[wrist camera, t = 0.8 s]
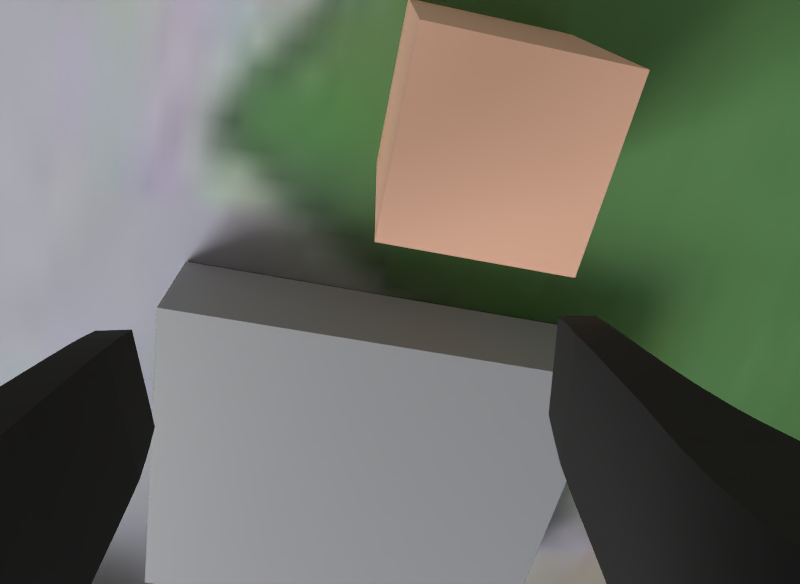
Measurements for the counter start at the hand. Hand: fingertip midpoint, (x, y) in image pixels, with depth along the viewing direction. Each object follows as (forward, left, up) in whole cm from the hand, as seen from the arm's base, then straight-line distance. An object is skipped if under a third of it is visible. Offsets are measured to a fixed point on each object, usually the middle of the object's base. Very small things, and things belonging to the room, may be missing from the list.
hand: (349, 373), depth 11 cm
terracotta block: (-3, -3, -10) cm, 10 cm away
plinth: (-2, +9, -10) cm, 13 cm away
